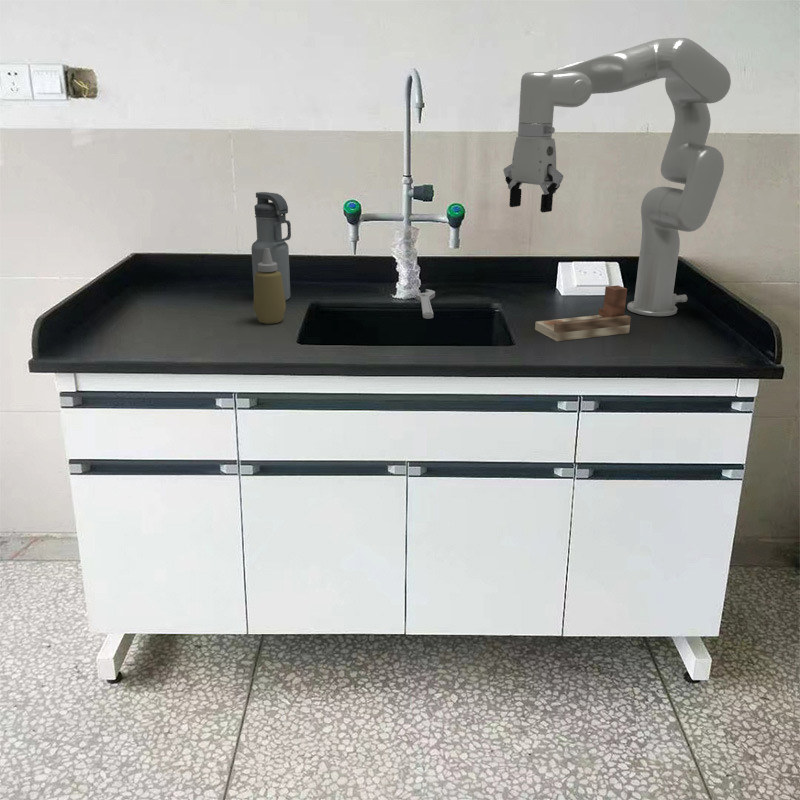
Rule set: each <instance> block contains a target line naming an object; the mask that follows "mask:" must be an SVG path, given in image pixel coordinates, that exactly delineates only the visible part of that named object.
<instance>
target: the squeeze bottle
mask: <svg viewBox="0 0 800 800" xmlns="http://www.w3.org/2000/svg"><path fill="white" fill-rule="evenodd" d="M252 308H253V312H254V313H255V316H256V318H257V321H258V322H259V323H262V324H268V325H269V324H270V325H271V324H277V323H281V322H282V321H283V319H284V315H285V311H286V309H287V303H286V301H285V296H284V289H283V282H282V275H281V273H280V272H278V271H277V263H276V262H273V261H272V257H271V253H270V249H269V248H264V254H263V260H262V262H261V263H258V272H257V273H256V274H255V281H254V286H253V305H252Z"/></svg>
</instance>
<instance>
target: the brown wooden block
mask: <svg viewBox="0 0 800 800" xmlns="http://www.w3.org/2000/svg"><path fill="white" fill-rule="evenodd" d="M627 293H628V288H626V287H623V286H621V285H618V284H617V285H610V286H609V285H607V286H605V288H604V298H603V307H602V308H598V315H600V316H602V318H606V317H615V316H624V315H625V312H626V311H625V310H626V302H627Z"/></svg>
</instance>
